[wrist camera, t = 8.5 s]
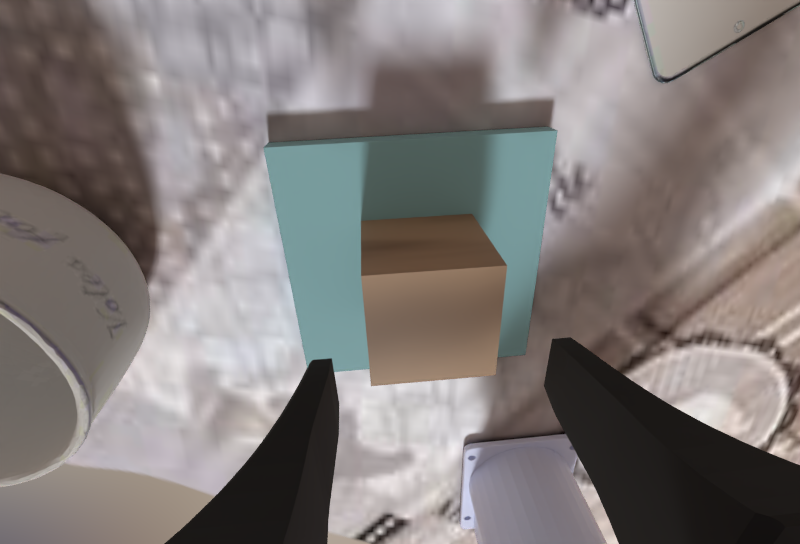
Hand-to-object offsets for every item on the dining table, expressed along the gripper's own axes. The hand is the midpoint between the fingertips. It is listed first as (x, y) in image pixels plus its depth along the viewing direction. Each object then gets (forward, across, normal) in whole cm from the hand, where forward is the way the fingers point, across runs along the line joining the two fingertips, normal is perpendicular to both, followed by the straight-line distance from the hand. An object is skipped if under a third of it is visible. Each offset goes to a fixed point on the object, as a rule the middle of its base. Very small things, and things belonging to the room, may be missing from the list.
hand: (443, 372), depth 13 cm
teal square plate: (+8, 0, 0) cm, 8 cm away
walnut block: (+7, 0, 0) cm, 7 cm away
